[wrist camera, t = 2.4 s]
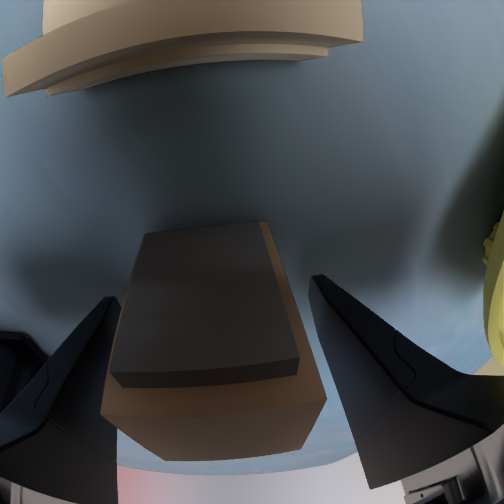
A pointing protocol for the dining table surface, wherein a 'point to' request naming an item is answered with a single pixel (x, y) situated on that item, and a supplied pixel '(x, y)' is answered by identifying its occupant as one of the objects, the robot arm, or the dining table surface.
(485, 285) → the plastic component
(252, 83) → the dining table surface
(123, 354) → the walnut finger
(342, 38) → the rail
